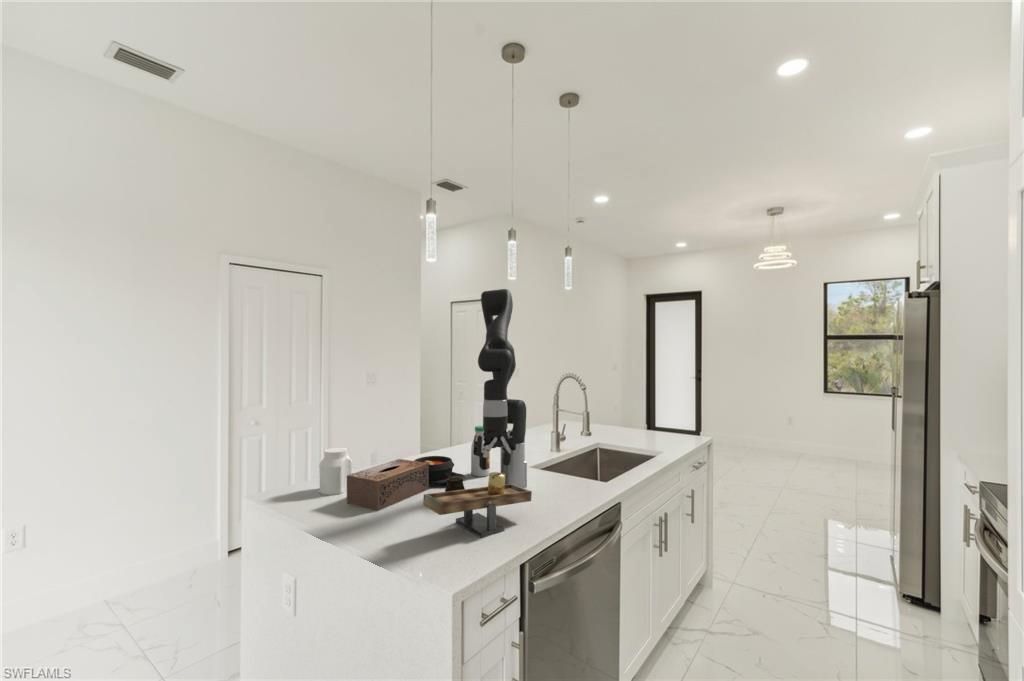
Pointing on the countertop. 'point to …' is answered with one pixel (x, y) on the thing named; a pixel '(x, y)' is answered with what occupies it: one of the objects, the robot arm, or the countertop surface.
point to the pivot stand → (481, 522)
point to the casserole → (439, 469)
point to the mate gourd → (454, 483)
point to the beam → (474, 499)
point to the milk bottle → (475, 459)
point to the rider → (496, 483)
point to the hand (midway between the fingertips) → (495, 467)
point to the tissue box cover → (387, 484)
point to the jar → (334, 471)
